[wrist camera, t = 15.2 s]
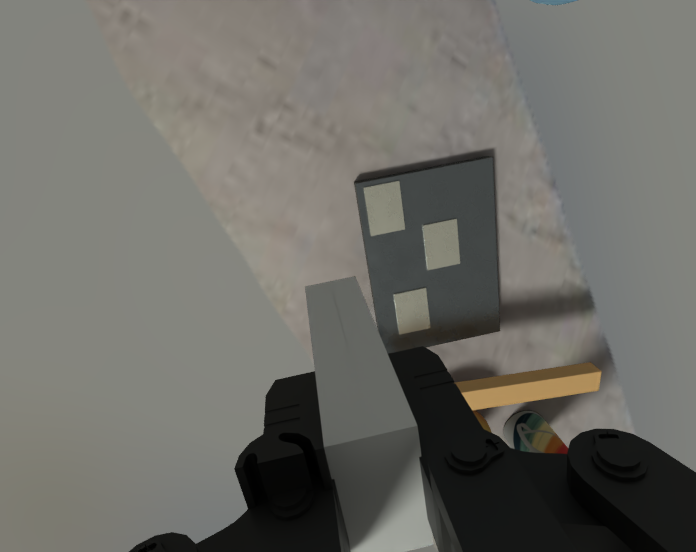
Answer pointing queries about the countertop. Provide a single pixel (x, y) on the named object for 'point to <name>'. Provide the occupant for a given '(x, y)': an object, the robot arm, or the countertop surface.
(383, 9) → the countertop surface
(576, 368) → the cable arm
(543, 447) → the lotion bottle
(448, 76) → the countertop surface
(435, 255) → the plate
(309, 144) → the countertop surface
